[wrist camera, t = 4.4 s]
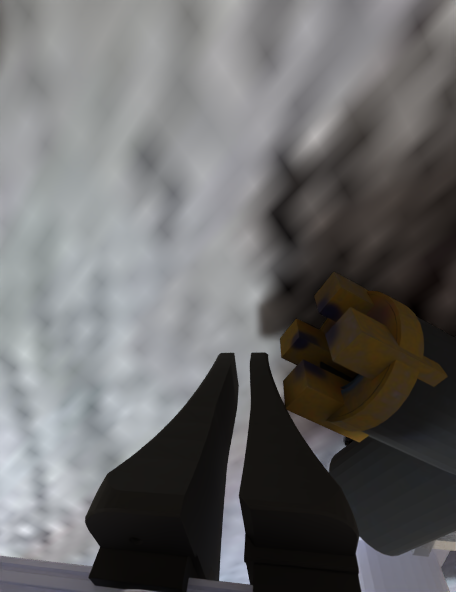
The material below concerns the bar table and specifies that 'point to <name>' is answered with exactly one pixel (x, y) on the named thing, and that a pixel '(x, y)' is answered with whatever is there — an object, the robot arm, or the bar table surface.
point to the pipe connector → (381, 411)
